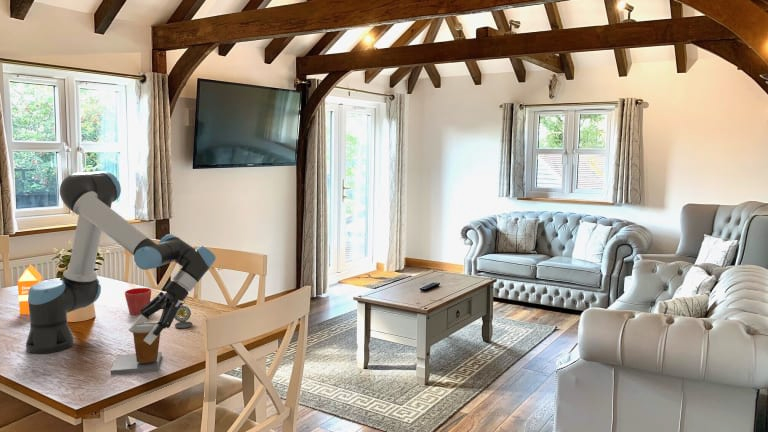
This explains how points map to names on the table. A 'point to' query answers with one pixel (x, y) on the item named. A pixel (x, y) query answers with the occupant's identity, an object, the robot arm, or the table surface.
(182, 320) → the pocket watch
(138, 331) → the disposable coffee cup
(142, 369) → the slate tile
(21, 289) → the orange juice
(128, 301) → the flower pot
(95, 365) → the table surface
